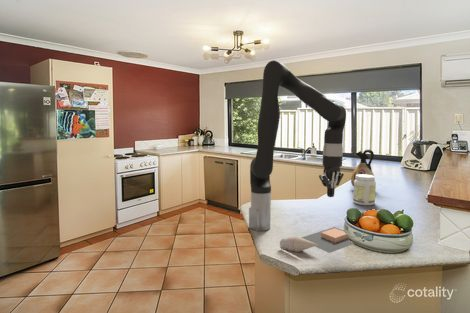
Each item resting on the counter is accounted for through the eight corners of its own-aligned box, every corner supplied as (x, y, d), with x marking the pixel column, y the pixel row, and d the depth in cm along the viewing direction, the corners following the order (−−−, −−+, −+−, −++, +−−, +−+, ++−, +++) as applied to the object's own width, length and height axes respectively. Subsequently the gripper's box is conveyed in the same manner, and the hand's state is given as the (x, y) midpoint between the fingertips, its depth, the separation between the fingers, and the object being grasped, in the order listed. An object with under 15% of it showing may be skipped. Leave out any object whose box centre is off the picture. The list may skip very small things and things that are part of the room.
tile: (335, 238, 118) (348, 233, 123) (321, 232, 124) (334, 228, 129) (334, 242, 118) (348, 238, 123) (321, 237, 124) (334, 232, 129)
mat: (329, 254, 110) (329, 252, 109) (298, 239, 123) (298, 238, 123) (366, 239, 123) (366, 238, 123) (334, 228, 136) (334, 227, 136)
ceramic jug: (348, 191, 207) (350, 149, 203) (353, 187, 219) (355, 147, 216) (374, 195, 197) (377, 150, 193) (378, 190, 210) (380, 149, 206)
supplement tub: (370, 200, 183) (372, 174, 181) (377, 206, 171) (379, 177, 169) (350, 200, 184) (351, 173, 182) (356, 205, 172) (357, 177, 170)
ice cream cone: (319, 256, 107) (281, 254, 115) (321, 241, 111) (284, 240, 119) (315, 248, 104) (276, 246, 111) (317, 233, 108) (279, 232, 115)
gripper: (329, 156, 111) (327, 201, 113) (351, 154, 118) (348, 196, 120) (314, 154, 117) (312, 196, 119) (335, 152, 124) (333, 192, 126)
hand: (330, 196), depth 119 cm, fingers closed
